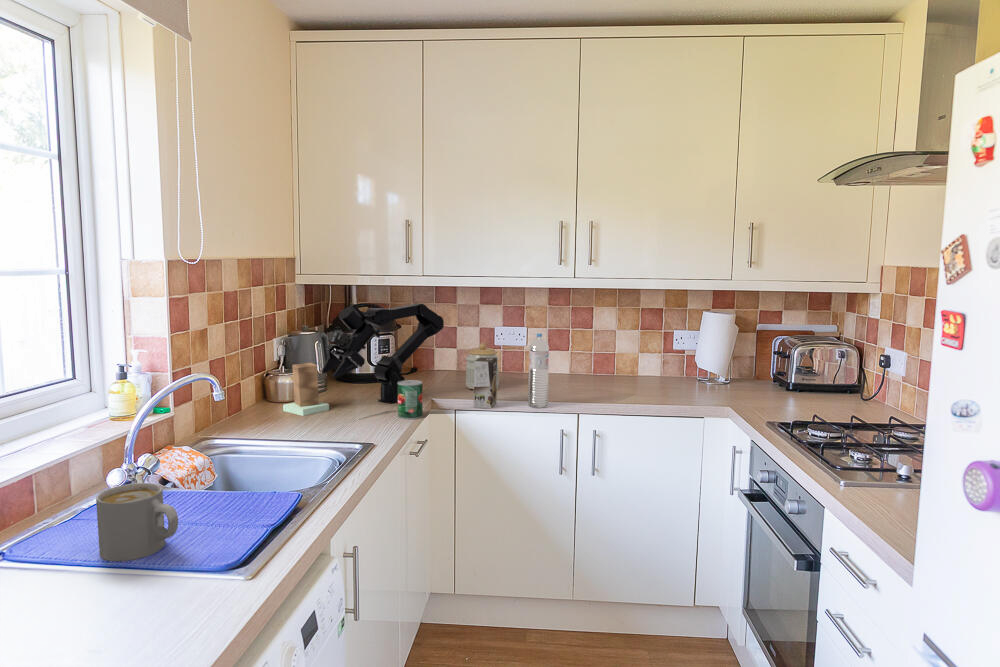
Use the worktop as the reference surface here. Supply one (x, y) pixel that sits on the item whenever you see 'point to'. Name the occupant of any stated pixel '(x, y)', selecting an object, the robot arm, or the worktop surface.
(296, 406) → the sage top slab
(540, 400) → the water bottle
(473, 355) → the jar
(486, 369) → the coffee box
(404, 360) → the robot arm
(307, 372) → the walnut post
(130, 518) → the coffee mug
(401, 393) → the canned tomato
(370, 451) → the worktop surface
